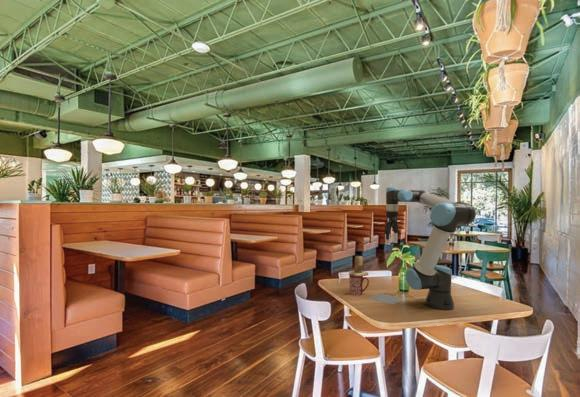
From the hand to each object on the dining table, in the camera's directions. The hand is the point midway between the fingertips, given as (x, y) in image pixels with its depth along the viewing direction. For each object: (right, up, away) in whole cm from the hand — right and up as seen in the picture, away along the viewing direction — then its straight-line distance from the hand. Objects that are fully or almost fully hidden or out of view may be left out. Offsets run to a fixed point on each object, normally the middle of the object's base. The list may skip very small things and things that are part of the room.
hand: (391, 243), depth 208 cm
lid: (-22, -19, -4) cm, 29 cm away
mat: (-8, -32, -13) cm, 35 cm away
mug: (-23, -32, -5) cm, 40 cm away
